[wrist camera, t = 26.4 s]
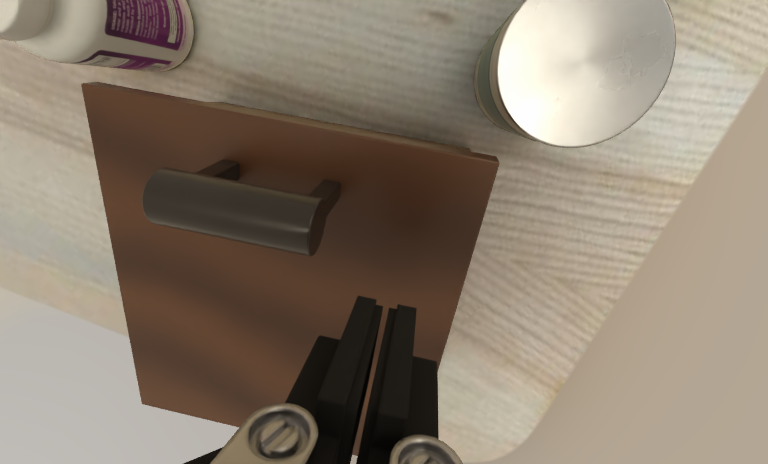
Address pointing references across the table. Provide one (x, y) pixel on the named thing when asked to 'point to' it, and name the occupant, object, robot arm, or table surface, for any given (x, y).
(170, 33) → the pill bottle
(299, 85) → the table surface
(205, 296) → the lid
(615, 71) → the can
